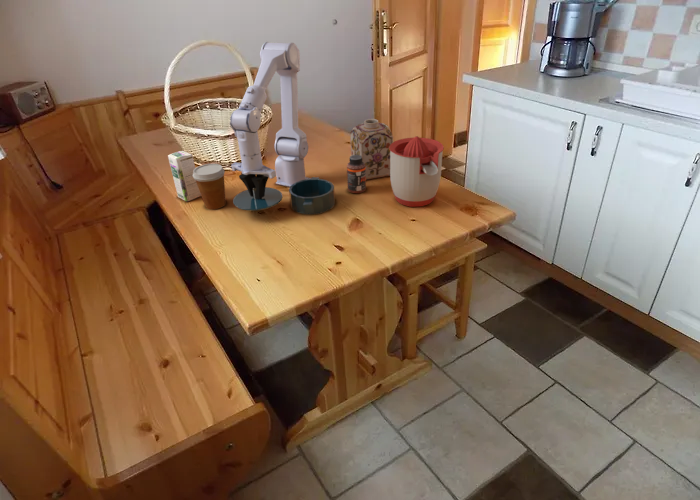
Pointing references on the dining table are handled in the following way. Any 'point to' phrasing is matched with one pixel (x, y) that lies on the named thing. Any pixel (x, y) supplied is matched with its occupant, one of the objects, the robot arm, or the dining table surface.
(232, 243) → the dining table surface
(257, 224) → the dining table surface
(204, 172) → the disposable coffee cup
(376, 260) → the dining table surface
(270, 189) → the pot lid
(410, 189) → the citrus juicer
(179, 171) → the syrup box
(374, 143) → the decorative jar
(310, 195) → the pot
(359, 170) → the supplement bottle
